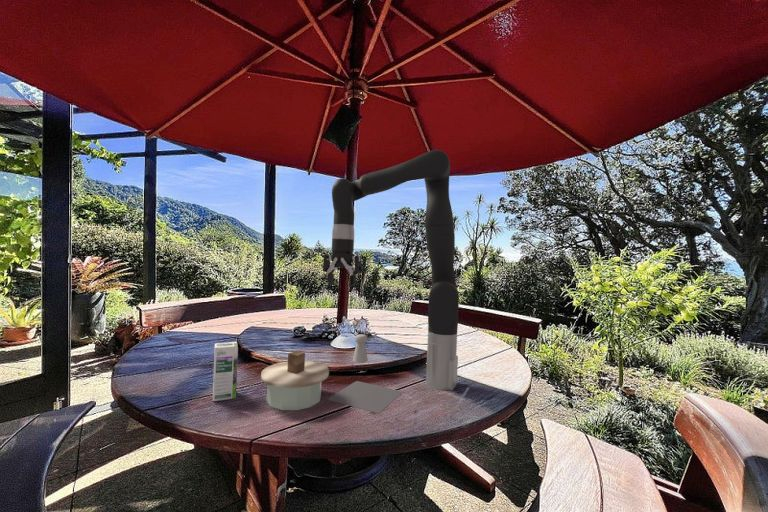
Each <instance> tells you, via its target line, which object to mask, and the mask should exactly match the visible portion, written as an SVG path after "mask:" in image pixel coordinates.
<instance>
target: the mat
mask: <svg viewBox="0 0 768 512" xmlns="http://www.w3.org/2000/svg"><path fill="white" fill-rule="evenodd" d="M402 393H403V390H398V389H394V388H393V389H392V388H388V387H384V386H380V385H376V384H372V383H367V382H363V381H359V380H356V381H354V382H352V383H351V384H349V385H348V386H346V387H344V388H343V389H341V390H340V391H338V392H337V393H334V394H333V395H331V396H329V398H327V399H326V400H327V401H331V402H335V403H338V404H342V405H345V406H346V405H347V406H349V407H353V408H356V409H360V410H361V409H362V410H365V411H367V412H371V413H375V414H380V413H382V412H383V411H384V410H385V409H386V408H387V407H388V406H389V405H390V404H391V403H393V402H394V401H395V399H397V398H398V397H400V396H401V394H402Z"/></svg>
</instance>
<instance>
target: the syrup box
mask: <svg viewBox="0 0 768 512" xmlns="http://www.w3.org/2000/svg"><path fill="white" fill-rule="evenodd" d="M238 346H239V345H238V342H237V341H230V342H217V343H214V349H213V350H214V353H213V355H214V358H213V378H212V381H213V382H212V384H213V385H212V402H213V401H215V402H218V401H219V402H220V401H227V400H232V399H233V400H234V399H236V398H237V385H238V384H237V380H238V379H237V378H238V358H239V357H238V356H239V354H238V353H239V347H238Z"/></svg>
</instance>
